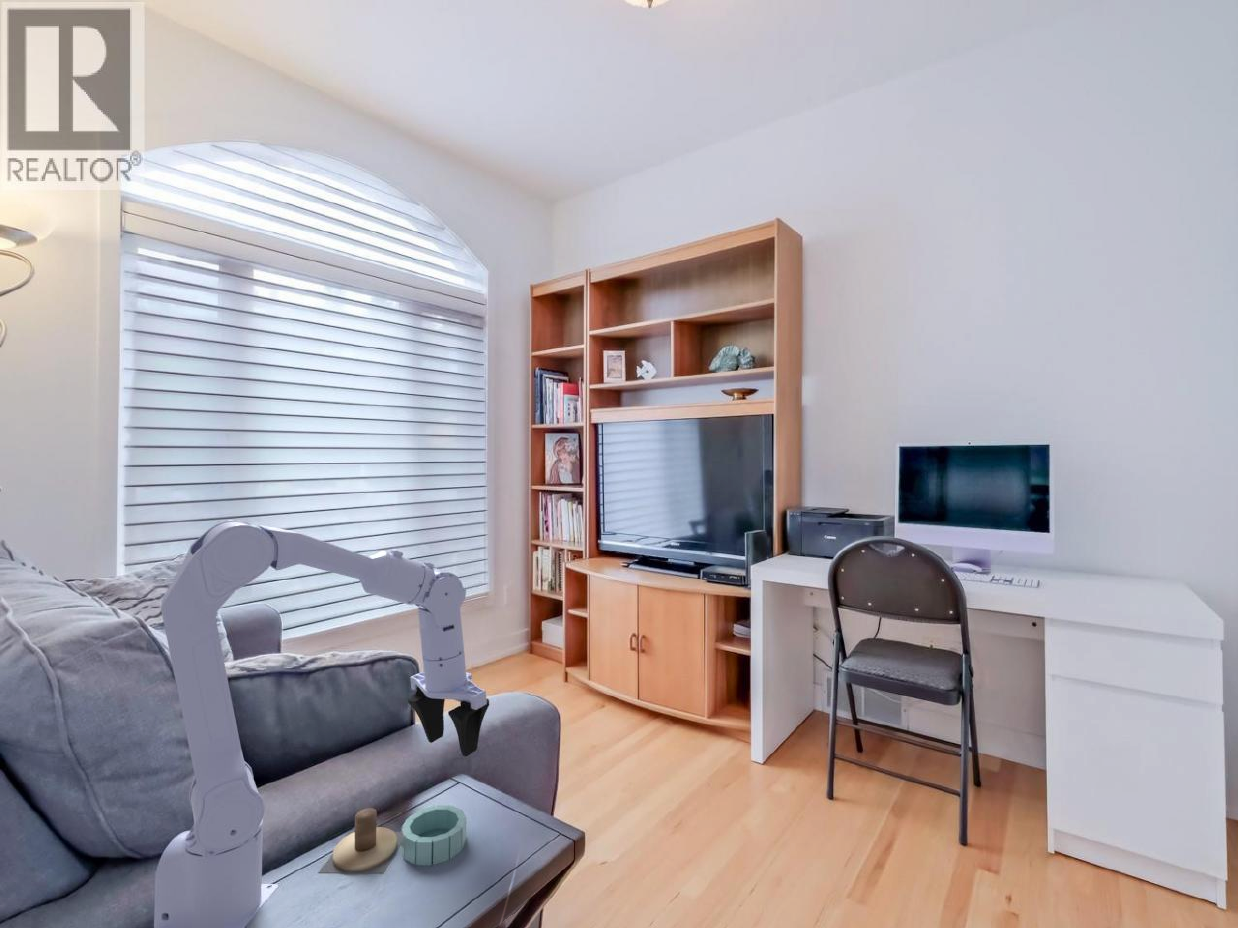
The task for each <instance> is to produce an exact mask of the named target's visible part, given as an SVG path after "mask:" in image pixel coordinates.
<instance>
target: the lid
mask: <svg viewBox="0 0 1238 928" xmlns="http://www.w3.org/2000/svg"><path fill="white" fill-rule="evenodd" d="M377 811H378V810H376V808H372V807H369V808H364V809H361V810H359V811H357V812H356V813H355V815H354V831H353V832H354V833H352V834H350V835H348V836H347V835H346V836H345V837H343V838H342V839H341V840H339V841H338V843H336V845H335V847H334V848H333V852H332V854H333V864H334V865H335V866H336V867H337V868H338V869H340V870H343V871H351V872H353V871H362V870H366V869H370V868H372V867H375V866H377V865H379V864H381V863H383V862H384V861H386V860H387V859H388V858H389V857H390V856H391V855H392V854H393V853H394V851H395V849H396V846H397V836H396V834H395V833H394V832H395V831H393V830H391V828H387V827H384V826H383V827H382V826H377V825H378V824H377V823H378V822H377V820H378V819H377V817H378V816H377V815H378V813H377Z"/></svg>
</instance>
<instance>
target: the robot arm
mask: <svg viewBox="0 0 1238 928" xmlns="http://www.w3.org/2000/svg"><path fill="white" fill-rule="evenodd" d="M403 556H404V552H402V551H399V550H397V549H393V548H392V549H390V552H388V551H385V550H381V551H379V552H376V553H374V554H371V555H369V556H366V555H363V554H361V553H358V552H355V551H352V550H349V549H346V548H344V547H340V546H338V545H335V544H332V543H330V542H326V541H325V540H324V541H323V540H321V539H318V538H315V537H312V536H310V535H307V534H303V533H300V532H297V531H294V530H289V529H283V528H279V527H273V526H268V525H261V524H258V525H257V526H255V525H252V524H251V523H249V522H246V521H243V520H238V519H229V520H223V521H220V522H218V523H216V524H214V525H212V526H211V527H209V528H208V529H207V530H206V531H205V532H204V533H203V534H202V535H200V536H199V538H197V539H196V540H195V541H194V542H193V543H192V544H191V545H190V546H189V549H188V551H187V552H186V555H185V557H184V559H183V561H182V562H181V564H180V567H179V568H178V570H177V571H176V574H175V576H174V577H173V579H172V581H171V583H170V584H169V586H168V587H167V590H166V592H165V593H164V595H163V597H162V599H161V605H160V606H161V607H160V610H161V615H162V620H163V626H164V630H165V635H166V640H167V645H168V650H169V655H170V661H171V665H172V670H173V675H174V679H175V685H176V690H177V694H178V699H179V704H180V710H181V714H182V718H183V719H182V720H183V723H184V728H185V733H186V737H187V743H188V750H189V753H190V754H189V755H190V757H191V758H190V759H191V763H192V764H191V765H192V767H193V768H192V769H193V773H194V774H193V779H192V783H191V785H190V787H189V788H190V789H189V790H188V791H189V792H188V801H189V805H190V806H191V810H192V815H193V816H192V817H193V825H192V827H191V828H190V830H185V831H183V832H180V833H179V834H178V835H176V836H175V837H174V838H173V839H172V840H171V841H170V842H169V844H168V845H167V846H166V847H165V849H164V851H163V853H162V854H161V857H160V859H159V861H158V865H157V866H156V867H157V868H156V871H155V878H154V879H155V880H154V912H153V913H154V915H153V916H154V917H153V918H154V919H153V928H245V927H246V926H247V925H248V924H249V923H250V921H251V920H252V919H253V918H254V916H255V915H257V913H258V911H260V909H261V908H263V906H264V904H266V902H267V901H268V899H270V898H271V896H272V895H273V894H274V893H275V892H276V891H277V889H278V887H279V884H277V883H274V884H273V883H262V882H263V880H262V879H263V840H264V839H263V835H264V834H263V833H264V832H263V831H264V830H263V829H264V828H263V827H264V820H263V819H264V816H265V811H266V810H265V809H266V806H265V802H264V799H263V796H262V795H261V794H260V793H259V790H258V787H257V785H256V782H255V780H254V772H253V769H252V767H251V766H250V765H249V763H247V762H246V761H245V759H244V755H243V750H242V747H241V742H240V736H239V731H238V725H237V722H236V721H237V720H236V716H235V715H236V714H235V711H234V706H233V705H234V704H233V699H232V695H231V691H230V690H231V689H230V685H229V678H228V675H227V670H226V664H225V661H224V660H225V659H224V655H223V654H224V653H223V649H222V643H221V639H220V638H221V637H220V633H219V628H218V623H217V617H216V614H217V613H218V611H219V610H220V609H221V608H222V607H223V605H224V604H225V603H227V601H229V599H230V598H231V596H232V595H234V593H235V592H236V591H238V590H240V588H242V587H244V586H246V585H247V584H249V583H251V582H253V581H254V580H256V579H257V578H259V577H260V576H261V575H263V574H264V573H265V572H266V571H267V570H268V569H269V567H270V568H272V569H273V570H274V571H276V572H277V571H280V570H284V569H287V568H290V567H295V566H297V565H302V566H306V567H310V568H315V569H318V570H321V571H325V572H330V573H333V574H338V575H341V576H345V577H349V578H351V579H355V580H359V582H360V584H361V586H362V588H363V591H364V592H365V593H366V594H369V595H373V596H377V597H380V598H384V599H388V600H391V601H394V602H398V603H402V604H406V605H409V606H410V605H411V606H413V605H415V606H416V607H417V611H418V612H417V613H418V621H419V622H418V623H419V624H418V625H419V626H418V627H419V636H420V637H419V638H420V645H421V656H422V657H421V658H422V666H423V672H422V671H421V672H419V673H416V674H414V675H412V676H410V679H409V680H410V686H411V687H410V688H411V690H413V691H415V694H412V695H411V696H409V697H407V698H408V699H407V701H408V702H407V703H408V704H409V705H410V706H411V708H412V709H413V711H414V712H415V713H416V716H418V718H419V721H420V723H421V725H422V728H423V731H424V733H425V736H426V738H427V741H428V742H429V743H430V744H432V743H434V742H436V741H438V740H439V739H441V738H443V737H444V730H445V727H444V725H445V722H444V708H445V700H454V701H456V702H458V703H460V705H458V706H456V707H455V708H454V707H453V709H451V710H448V712H447V713H448V716H449V718H450V719H451V721H452V723H453V725H454V727H455V730H456V733H457V739H458V743H459V750H460V752H461V753H460V754H461V755H462V756H463V757H468V756H470V755H471V754H473V753H474V752H476V751H477V750H478V744H479V739H480V732H481V728H482V723H483V720H484V718H485V715H486V712H487V710H488V708H489V706H490V700H489V698H487V692H486V690H485V689H483V688H481V687H479V686H478V685H476V684H475V683H474V682H473V681H472V679H473V674H472V673H471V672H467V668H466V658H465V657H466V656H465V645H464V636H463V625H462V617H461V616H462V615H461V607H462V605H463V604H464V601H465V600H466V595H467V589H466V588H465V587H464V586H463V582H462V581H461V579H459V577H458V576H457V575H456V574H455V573H452V572H449V571H445V570H442V569H439V568H436V567H435V564H434V563H432V562H428V561H424V563H421V562H419V561H415V560H412V559H409V558H407V557H403Z"/></svg>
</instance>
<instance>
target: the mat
mask: <svg viewBox="0 0 1238 928" xmlns="http://www.w3.org/2000/svg"><path fill="white" fill-rule="evenodd" d="M354 832H355V831H349V832H348V833H347V834H346V836H348V835H350V834H352V833H354ZM393 832H394V833H395V834H396V836H397V846H396V849H395V851H394V853H393V854H392V855H391V856H390V857H389V858H388V859H387V860H386V861H384V862H383V863H381V864H379V865H377V866H375V867H372V868H370V869H366V870H362V871H353V872H351V871H343V870H340V869H338V868H337V867H336V866H335V865H334V864H333V853H332V854H331V855H330V857H329V858H328V859H327V860H326V862H325V863H324V865H322V867H321V868H320V870H319V871H318V874H384V873H385V872H386V870H387V868H388V866H389V864H390V863H391V861H392V860H393V857H394V856H395V854H396V852H397V851H398V849H400V847H401V833H402V831H399V832H398V831H393Z"/></svg>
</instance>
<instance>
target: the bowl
mask: <svg viewBox="0 0 1238 928" xmlns="http://www.w3.org/2000/svg"><path fill="white" fill-rule="evenodd" d="M401 832H402V833H401V844H400V851H401V854H402V859H404V861H406V862H407V863H408V862H409V863H410V864H412V865H414V866H415V865H416V866H432V865H434V866H435V865H437V864H441V863H444V862H446V861H449V860H451V859H453V858H454V857H455V856H456V855H458V854H459V853H460V852H462V850H463V849H464V847H465V844H466V842H467V815H466V814H465V812H464V810H463V809H461V808H460V807H459V808H458V807H456V806H453V805H444V804H443V805H441V804H440V805H433V806H430V807H426V808H423V809H422V808H421V809H420V810H417V811H416V812H414V813H413V814H411V815H410V816H409V817H408V818H406V819H405V821H404V823H403V824H402V826H401Z"/></svg>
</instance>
